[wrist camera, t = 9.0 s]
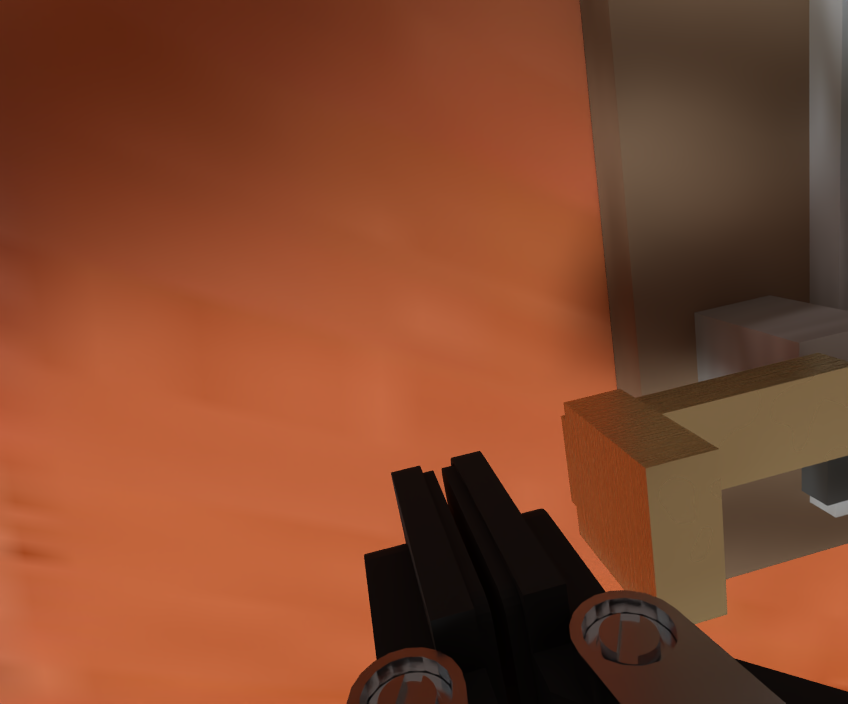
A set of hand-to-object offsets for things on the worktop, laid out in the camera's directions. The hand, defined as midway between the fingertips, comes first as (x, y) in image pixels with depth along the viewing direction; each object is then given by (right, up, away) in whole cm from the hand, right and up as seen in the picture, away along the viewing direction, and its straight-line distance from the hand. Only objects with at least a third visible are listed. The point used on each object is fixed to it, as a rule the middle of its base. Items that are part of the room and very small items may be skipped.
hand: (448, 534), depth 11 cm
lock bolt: (+5, +2, +2) cm, 6 cm away
